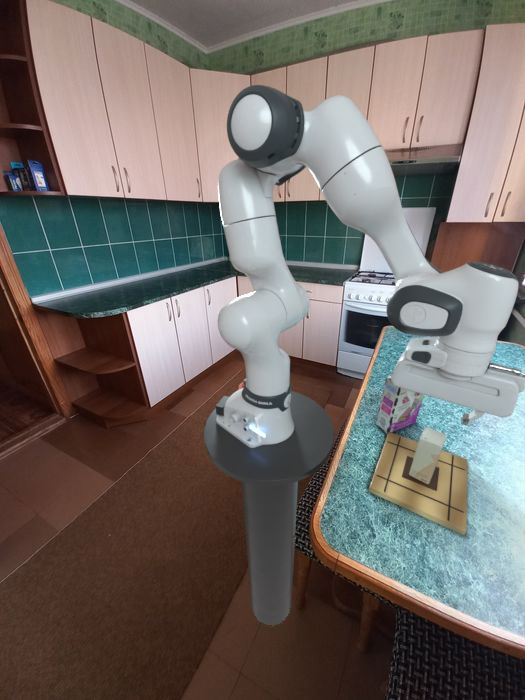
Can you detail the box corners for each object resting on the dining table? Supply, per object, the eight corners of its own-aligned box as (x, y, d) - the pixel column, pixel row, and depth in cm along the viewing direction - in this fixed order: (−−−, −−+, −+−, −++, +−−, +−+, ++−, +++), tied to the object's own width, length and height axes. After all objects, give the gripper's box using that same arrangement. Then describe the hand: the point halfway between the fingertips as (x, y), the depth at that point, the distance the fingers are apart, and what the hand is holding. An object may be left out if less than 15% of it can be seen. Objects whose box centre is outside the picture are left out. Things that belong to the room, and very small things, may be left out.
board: (368, 491, 64) (369, 486, 63) (387, 435, 79) (388, 431, 78) (464, 535, 56) (466, 530, 55) (465, 463, 70) (467, 458, 70)
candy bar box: (388, 436, 79) (400, 386, 71) (374, 424, 83) (384, 376, 75) (417, 423, 83) (431, 375, 75) (402, 413, 87) (415, 366, 80)
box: (428, 485, 63) (441, 448, 58) (407, 474, 66) (418, 438, 61) (434, 470, 67) (447, 434, 62) (414, 460, 69) (425, 425, 64)
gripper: (530, 364, 50) (499, 424, 56) (403, 336, 59) (389, 391, 66) (536, 381, 45) (502, 445, 52) (397, 348, 55) (383, 406, 61)
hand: (437, 414), depth 59 cm, fingers open, 8 cm apart
